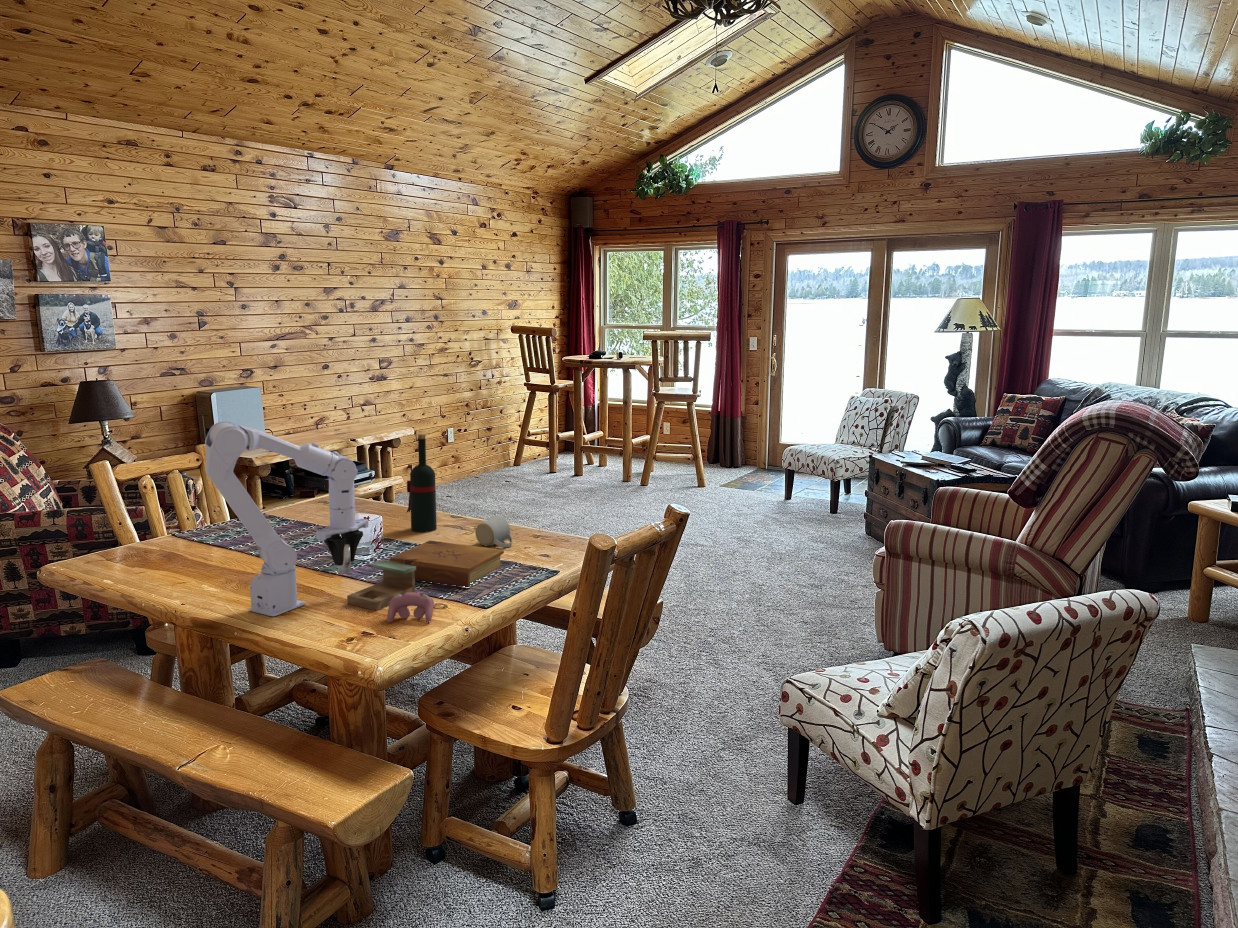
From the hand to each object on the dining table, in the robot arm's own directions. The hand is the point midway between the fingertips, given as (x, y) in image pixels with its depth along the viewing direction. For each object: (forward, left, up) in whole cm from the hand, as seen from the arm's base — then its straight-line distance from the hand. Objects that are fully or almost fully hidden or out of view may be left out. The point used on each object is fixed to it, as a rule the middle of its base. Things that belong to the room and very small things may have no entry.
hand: (344, 562), depth 193 cm
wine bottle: (+57, +25, -8) cm, 63 cm away
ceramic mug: (+55, -5, -8) cm, 56 cm away
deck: (+3, -9, -8) cm, 12 cm away
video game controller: (-4, -24, -8) cm, 25 cm away
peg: (0, 0, -2) cm, 2 cm away
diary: (+26, -10, -9) cm, 29 cm away
